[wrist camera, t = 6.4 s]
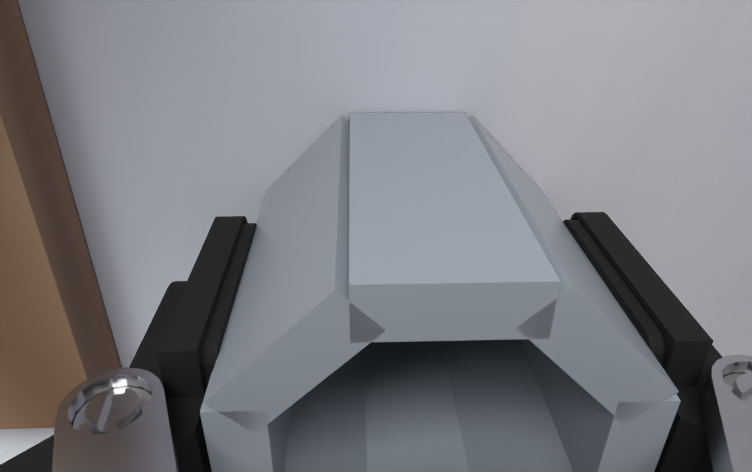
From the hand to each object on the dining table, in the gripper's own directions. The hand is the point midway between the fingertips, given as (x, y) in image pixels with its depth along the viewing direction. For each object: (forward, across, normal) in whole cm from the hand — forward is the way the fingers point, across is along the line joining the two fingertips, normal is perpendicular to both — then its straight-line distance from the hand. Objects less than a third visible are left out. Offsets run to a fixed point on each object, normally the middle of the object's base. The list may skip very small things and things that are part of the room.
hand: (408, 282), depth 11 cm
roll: (+2, 0, 0) cm, 2 cm away
